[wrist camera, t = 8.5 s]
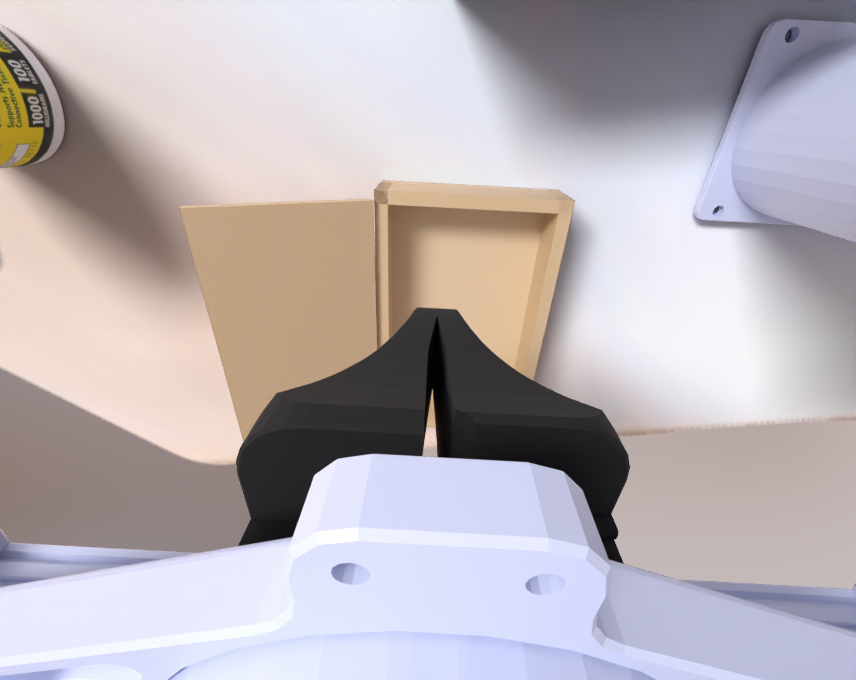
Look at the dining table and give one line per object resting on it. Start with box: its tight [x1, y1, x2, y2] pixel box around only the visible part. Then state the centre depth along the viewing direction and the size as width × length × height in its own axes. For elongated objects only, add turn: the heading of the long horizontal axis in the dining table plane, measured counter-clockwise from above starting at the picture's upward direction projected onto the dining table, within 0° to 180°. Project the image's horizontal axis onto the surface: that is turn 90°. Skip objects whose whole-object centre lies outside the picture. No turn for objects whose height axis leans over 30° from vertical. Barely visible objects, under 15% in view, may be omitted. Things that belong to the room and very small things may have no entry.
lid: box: [179, 199, 377, 441], centre depth 19 cm, size 8×13×1 cm, turn 177°
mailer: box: [374, 181, 575, 427], centre depth 22 cm, size 9×14×3 cm, turn 177°
